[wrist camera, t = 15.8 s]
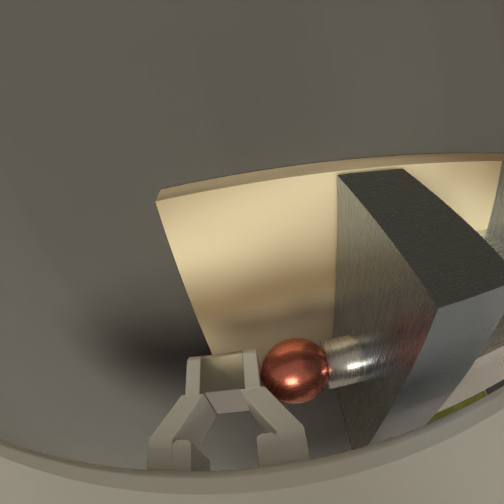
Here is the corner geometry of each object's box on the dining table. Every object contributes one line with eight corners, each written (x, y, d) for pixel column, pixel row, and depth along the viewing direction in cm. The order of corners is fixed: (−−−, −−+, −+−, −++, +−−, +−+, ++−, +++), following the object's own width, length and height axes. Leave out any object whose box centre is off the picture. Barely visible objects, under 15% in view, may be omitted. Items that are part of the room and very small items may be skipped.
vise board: (484, 301, 17) (491, 311, 16) (222, 364, 17) (222, 378, 16) (529, 154, 10) (541, 161, 9) (160, 189, 11) (155, 201, 10)
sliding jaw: (370, 355, 16) (403, 447, 11) (267, 377, 16) (281, 478, 11) (402, 168, 9) (521, 278, 4) (229, 190, 9) (237, 351, 5)
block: (467, 288, 14) (520, 368, 9) (378, 313, 14) (424, 417, 9) (487, 228, 12) (560, 310, 7) (390, 247, 12) (463, 364, 7)
